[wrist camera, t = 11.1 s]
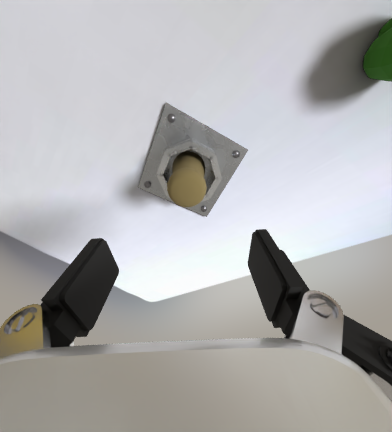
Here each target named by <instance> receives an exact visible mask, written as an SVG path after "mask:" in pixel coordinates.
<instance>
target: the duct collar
mask: <svg viewBox="0 0 392 432" xmlns="http://www.w3.org/2000/svg"><path fill="white" fill-rule="evenodd" d="M187 151H188V152H194V153H196V154H198V155H199V156H200V157H201V158H202V159H203V161H204V163H205V175H204V179H205V182H206V186H207V189H206V194H205V196H204V198H203V200H202V201H201V202H200V203H199V204H197V205H195V206H193V207H185V208H187V209H189V210H192V211H194V212H196V213H199V214H201V215H203V216H206V217H207V215H208V214H209V212H210V211H211V209H212V207H213V206H214V204H215V203H216V201H217V199H218V198H219V196H220V195H221V193H222V191H223V190H224V188H225V186H226V185H227V183H228V182H229V180H230V178H231V177H232V175H233V174H234V172H235V170H236V169H237V167H238V166H239V164H240V162H241V161H242V159H243V157H244V156H245V154H246V153H247V151H248V150H247V149H246V148H244V147H242V146H241V145H239V144H237V143H235V142H234V141H232V140H230V139H228V138H227V137H225V136H223V135H221V134H220V133H218V132H216V131H215V130H213V129H211V128H209V127H208V126H206V125H204V124H202V123H201V122H199V121H197V120H195V119H194V118H192V117H190V116H189V115H187V114H185V113H183V112H182V111H180V110H178V109H176V108H175V107H173V106H171V105H170V104H168V103H166V104H165V107H164V110H163V113H162V116H161V119H160V122H159V125H158V128H157V131H156V134H155V137H154V140H153V143H152V147H151V150H150V153H149V156H148V159H147V162H146V165H145V168H144V171H143V174H142V177H141V180H140V183H139V186H138V188H140V189H142V190H145V191H147V192H149V193H152V194H154V195H156V196H159V197H161V198H163V199H166V200H168V201H170V202H173V201H172V200H171V198H170V197H169V194H168V191H167V183H168V180H169V178H170V176H171V175H172V165H173V162H174V159H175V158H176V157H177V156H178V155H179V154H181V153H183V152H187ZM173 203H174V202H173Z"/></svg>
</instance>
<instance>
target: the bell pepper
mask: <svg viewBox="0 0 392 432" xmlns="http://www.w3.org/2000/svg"><path fill="white" fill-rule="evenodd" d="M363 68H364V70H365V72H366V74H367V76H368V77H369V78H372V79H378V80H384V81H392V19H390V20H389V21H388V22H387V23H386V24H385V25H384V26H383V27H382V29H381V30H380V31H379V35H378V38H377V39H375V40H374V41H373V43H372V44H371V46H370V47H369V49H368V51H367V52H366V54H365V55H364V62H363Z"/></svg>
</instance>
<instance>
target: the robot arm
mask: <svg viewBox="0 0 392 432" xmlns="http://www.w3.org/2000/svg"><path fill="white" fill-rule="evenodd" d="M248 267H249V270H250V273H251V275H252V278H253V281H254V283H255V286H256V288H257V291H258V294H259V297H260V299H261V302H262V305H263V308H264V310H265V313H266V316H267V318H268V320H269V321H272V323H273V326H274V328H279V327H280V328H281V329H282V331H283V333H284V334H285V337H284V338H247V339H246V338H244V339H216V340H191V341H170V342H169V341H168V342H146V343H125V344H106V345H86V346H74V343H73V341H74V339H75V337H86V336H87V335H88V332H89V331H90V330H91V329H92V328H93V327H94V325H95V323H96V321H97V319H98V316H99V314H100V312H101V310H102V308H103V306H104V303H105V302H106V299H107V297H108V295H109V293H110V291H111V289H112V287H113V285H114V282H115V280H116V278H117V276H118V274H119V269H118V266H117V264H116V262H115V260H114V257H113V255H112V253H111V251H110V249H109V246H108V244H107V242H106V241H105V240H103V239H102V238H99V239H91V240H90V241H89V242H88V244H87V245H86V246H85V247H84V248H83V250H82V251H81V252H80V253H79V255H78V256H77V257H76V258H75V259H74V261H73V262H72V263H71V264H70V265H69V267H68V268H67V269H66V270H65V272H64V273H63V274H62V275H61V276H60V278H59V279H58V280H57V281H56V282H55V284H54V285H53V286H52V287H51V288H50V290H49V291H48V292H47V293H46V295H45V296H44V297H43V298H42V301H43V303H42V304H41V305H38V304H32V305H28V306H26V307H23V308H21V309H20V310H18V311H16V312H15V313H14V314H13V315H11V316H10V317H9V318H8V319H7V320H6V321H5V322H4V323H3V325H2V326H1V328H0V432H392V341H390V340H389V339H387V338H385V337H383V336H381V335H380V334H378V333H376V332H374V331H372V330H370V329H369V328H367V327H365V326H363V325H361V324H359V323H358V322H356V321H354V320H352V319H350V318H349V317H347V316H345V315H343V311H342V309H341V307H340V305H339V304H338V303H337V302H336V301H335V300H334V299H333V298H331V297H330V296H328V295H327V294H325V293H322V292H320V291H314V290H312V291H310V290H309V288H308V287H307V285H306V284H305V282H304V281H303V280H302V278H301V277H300V275H299V274H298V272H297V271H296V269H295V268H294V266H293V265H292V263H291V262H290V260H289V259H288V257H287V256H286V254H285V253H284V251H282V250H279V248H278V247H277V245H276V244H275V242H274V241H273V239H272V237H271V236H270V234H269V233H268V231H267V230H266V229H262V230H256V231H255V232H253V234H252V240H251V246H250V253H249V259H248Z"/></svg>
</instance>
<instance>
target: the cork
mask: <svg viewBox="0 0 392 432" xmlns="http://www.w3.org/2000/svg"><path fill="white" fill-rule="evenodd" d="M204 175H205V163H204V161H203V159H202V158H201V157H200V156H199V155H198V154H196V153H194V152H188V151H187V152H183V153H181V154H179V155H178V156H177V157H176V158H175V159H174V162H173V165H172V175H171V176H170V178H169V180H168V183H167V191H168V194H169V197H170V198H171V200H172V201H173V202H174V203H175V204H177V205H179V206H182V207H193V206H195V205H197V204H199V203H200V202H201V201H202V200H203V198H204V196H205V194H206V189H207V186H206V182H205V179H204Z"/></svg>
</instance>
